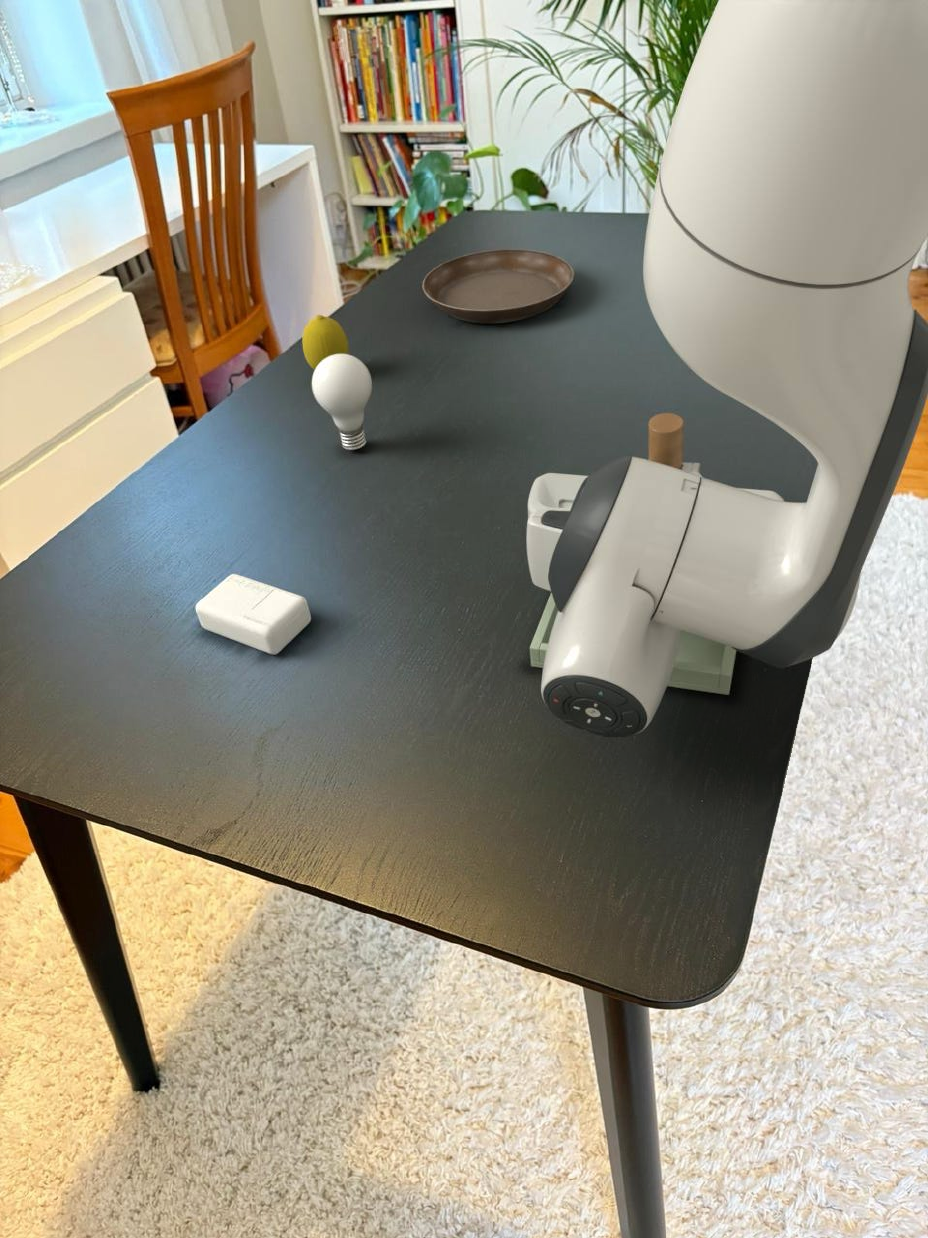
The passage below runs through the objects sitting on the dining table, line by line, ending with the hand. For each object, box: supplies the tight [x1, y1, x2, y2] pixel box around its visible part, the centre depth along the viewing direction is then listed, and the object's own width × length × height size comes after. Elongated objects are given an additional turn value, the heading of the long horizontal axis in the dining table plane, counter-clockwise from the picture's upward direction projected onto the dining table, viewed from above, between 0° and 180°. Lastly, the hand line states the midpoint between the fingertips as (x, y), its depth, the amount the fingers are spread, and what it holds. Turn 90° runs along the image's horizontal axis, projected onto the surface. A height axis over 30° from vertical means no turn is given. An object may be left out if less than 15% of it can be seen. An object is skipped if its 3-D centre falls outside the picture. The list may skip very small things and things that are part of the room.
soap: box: [195, 573, 312, 655], centre depth 85 cm, size 9×6×3 cm, turn 58°
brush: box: [648, 412, 684, 469], centre depth 84 cm, size 6×4×12 cm, turn 72°
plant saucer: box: [422, 248, 575, 325], centre depth 133 cm, size 21×21×3 cm
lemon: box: [301, 314, 349, 370], centre depth 120 cm, size 6×6×8 cm
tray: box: [529, 591, 737, 696], centre depth 84 cm, size 16×24×2 cm, turn 162°
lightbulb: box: [311, 353, 373, 452], centre depth 105 cm, size 6×6×11 cm
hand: (666, 467), depth 84 cm, fingers closed on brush, 3 cm apart
